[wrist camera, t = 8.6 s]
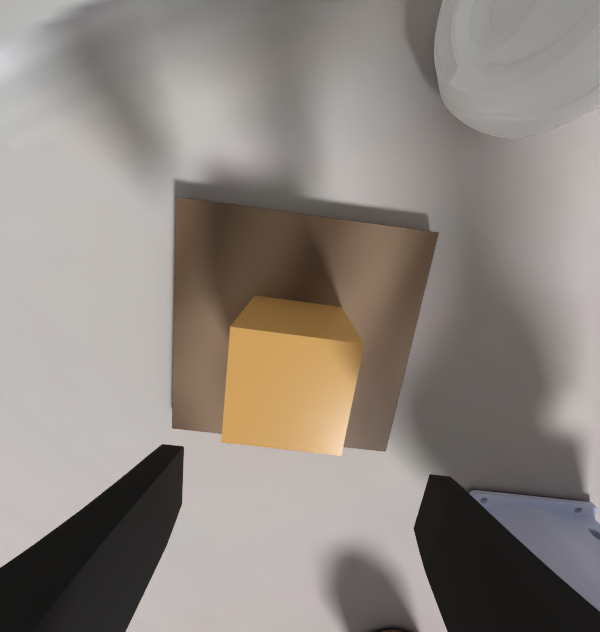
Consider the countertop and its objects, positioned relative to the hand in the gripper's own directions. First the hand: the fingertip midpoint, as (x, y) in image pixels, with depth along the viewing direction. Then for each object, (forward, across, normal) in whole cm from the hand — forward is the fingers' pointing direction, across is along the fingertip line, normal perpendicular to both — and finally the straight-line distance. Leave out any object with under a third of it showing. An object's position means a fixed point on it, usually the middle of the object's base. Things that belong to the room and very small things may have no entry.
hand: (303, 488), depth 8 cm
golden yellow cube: (+9, +1, -1) cm, 9 cm away
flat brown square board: (+10, +1, -1) cm, 10 cm away
